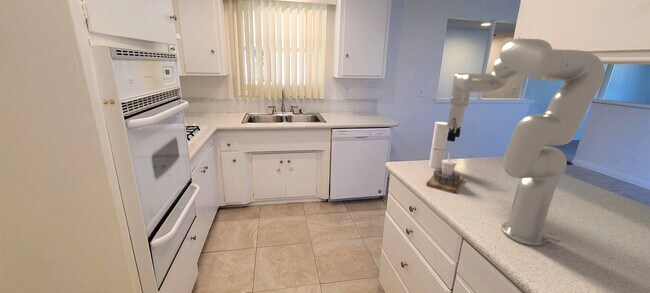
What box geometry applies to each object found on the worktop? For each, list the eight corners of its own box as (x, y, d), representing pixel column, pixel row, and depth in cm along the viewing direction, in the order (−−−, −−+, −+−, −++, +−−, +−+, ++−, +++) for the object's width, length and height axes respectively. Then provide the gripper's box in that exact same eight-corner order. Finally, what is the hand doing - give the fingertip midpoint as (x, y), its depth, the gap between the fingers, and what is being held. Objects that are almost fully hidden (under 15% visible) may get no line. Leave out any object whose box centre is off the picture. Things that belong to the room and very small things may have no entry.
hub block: (463, 180, 137) (465, 170, 135) (455, 193, 123) (457, 182, 121) (436, 173, 144) (438, 164, 143) (426, 185, 130) (427, 175, 129)
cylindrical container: (440, 164, 158) (446, 121, 150) (444, 169, 151) (451, 124, 143) (427, 163, 158) (433, 121, 151) (430, 168, 151) (437, 124, 144)
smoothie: (444, 176, 137) (448, 150, 133) (456, 181, 132) (460, 153, 128) (436, 179, 134) (440, 152, 129) (448, 184, 128) (452, 156, 124)
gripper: (454, 99, 131) (449, 133, 136) (445, 103, 117) (439, 141, 122) (471, 100, 126) (465, 136, 131) (464, 104, 113) (458, 144, 118)
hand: (453, 138), depth 127 cm, fingers open, 9 cm apart
